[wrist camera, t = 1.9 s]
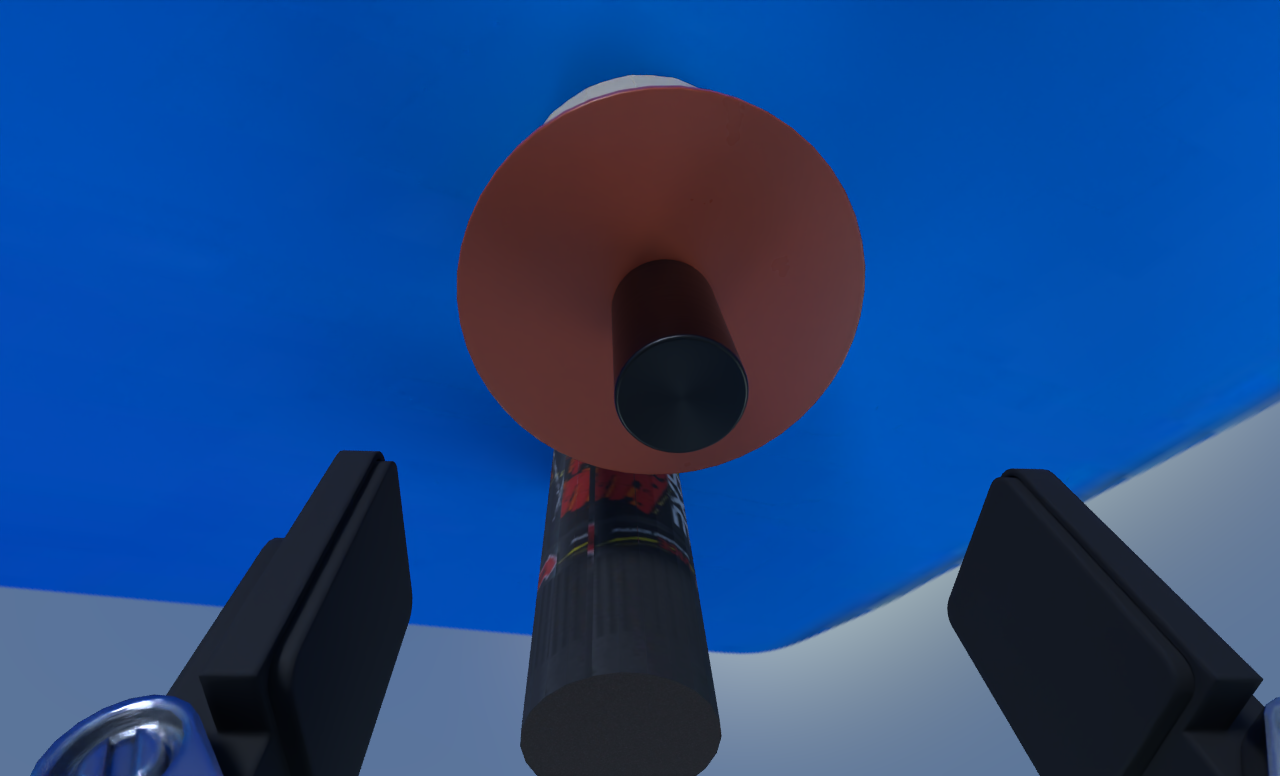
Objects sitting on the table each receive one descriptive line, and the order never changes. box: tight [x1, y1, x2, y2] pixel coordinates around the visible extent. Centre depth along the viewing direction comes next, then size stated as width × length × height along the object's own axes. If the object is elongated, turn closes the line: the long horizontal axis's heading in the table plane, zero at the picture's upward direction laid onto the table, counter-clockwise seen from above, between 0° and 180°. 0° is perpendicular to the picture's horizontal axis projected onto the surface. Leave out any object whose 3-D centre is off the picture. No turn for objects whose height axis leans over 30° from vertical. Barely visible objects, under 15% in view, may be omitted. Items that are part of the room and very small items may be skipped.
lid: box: [457, 85, 865, 475], centre depth 17 cm, size 11×11×6 cm
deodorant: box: [520, 449, 721, 776], centre depth 27 cm, size 6×6×15 cm
